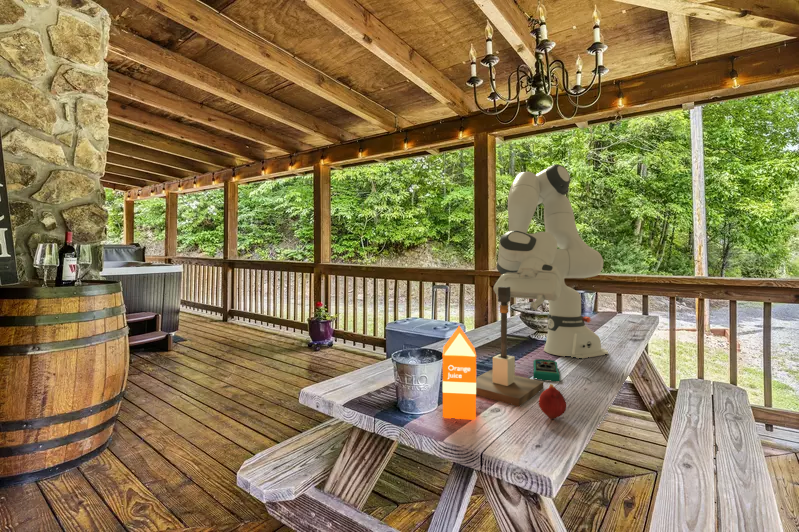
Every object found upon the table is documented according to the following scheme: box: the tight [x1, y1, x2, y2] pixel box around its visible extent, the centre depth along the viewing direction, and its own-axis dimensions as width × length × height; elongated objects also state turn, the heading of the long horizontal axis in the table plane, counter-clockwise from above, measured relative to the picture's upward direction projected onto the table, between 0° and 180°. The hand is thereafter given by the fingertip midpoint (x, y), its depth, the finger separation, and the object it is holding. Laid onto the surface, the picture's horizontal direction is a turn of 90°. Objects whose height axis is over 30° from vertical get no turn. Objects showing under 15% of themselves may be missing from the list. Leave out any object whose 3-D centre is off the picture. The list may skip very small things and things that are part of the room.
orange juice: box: [442, 325, 477, 421], centre depth 90 cm, size 8×9×20 cm
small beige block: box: [492, 353, 516, 386], centre depth 104 cm, size 4×4×7 cm
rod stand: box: [476, 286, 544, 408], centre depth 104 cm, size 16×16×28 cm
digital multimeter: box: [532, 358, 561, 382], centre depth 118 cm, size 7×15×3 cm, turn 160°
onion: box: [538, 383, 567, 420], centre depth 86 cm, size 6×6×8 cm
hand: (517, 307), depth 113 cm, fingers open, 8 cm apart
